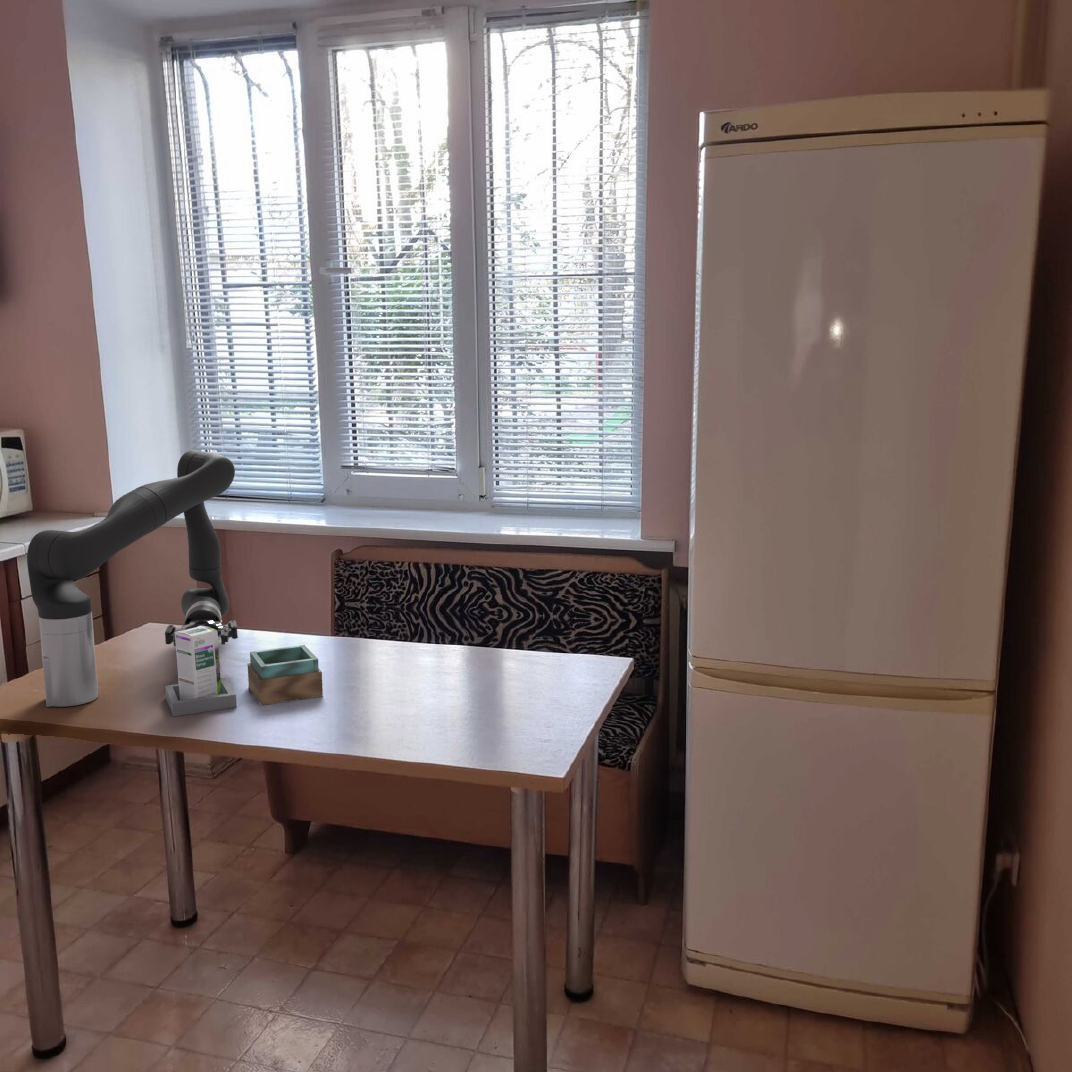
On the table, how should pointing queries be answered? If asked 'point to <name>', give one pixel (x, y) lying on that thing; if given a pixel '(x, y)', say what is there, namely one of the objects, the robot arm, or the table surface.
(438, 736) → the table surface
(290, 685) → the raised dock
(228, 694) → the low ring
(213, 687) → the syrup box
